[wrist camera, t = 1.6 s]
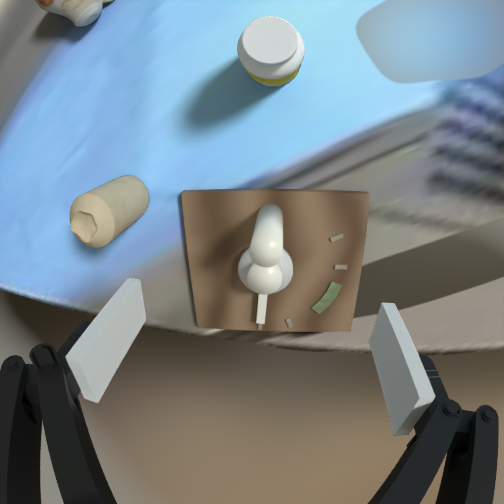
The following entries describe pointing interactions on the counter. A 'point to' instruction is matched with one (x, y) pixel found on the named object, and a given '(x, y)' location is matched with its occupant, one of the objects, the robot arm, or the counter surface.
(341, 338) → the counter surface
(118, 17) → the counter surface
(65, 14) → the mug
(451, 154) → the counter surface
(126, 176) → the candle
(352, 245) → the board
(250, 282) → the handle
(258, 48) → the supplement bottle
